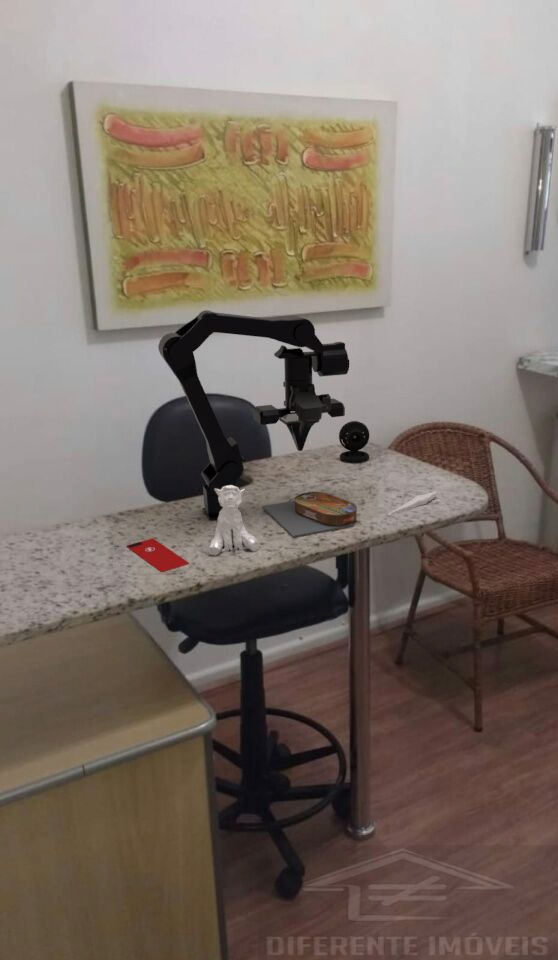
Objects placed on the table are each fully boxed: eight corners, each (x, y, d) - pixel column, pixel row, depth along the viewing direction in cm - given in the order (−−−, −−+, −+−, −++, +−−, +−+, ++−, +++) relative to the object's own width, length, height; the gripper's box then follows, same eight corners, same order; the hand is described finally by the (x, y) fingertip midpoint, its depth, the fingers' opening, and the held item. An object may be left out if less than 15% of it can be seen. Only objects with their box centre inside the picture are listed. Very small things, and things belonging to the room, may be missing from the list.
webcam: (341, 464, 188) (341, 425, 185) (337, 455, 195) (336, 418, 192) (372, 462, 188) (372, 424, 185) (366, 453, 195) (366, 416, 192)
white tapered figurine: (431, 496, 164) (431, 488, 164) (441, 499, 162) (441, 491, 162) (383, 516, 156) (383, 508, 155) (393, 520, 154) (393, 512, 153)
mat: (293, 537, 145) (293, 535, 145) (262, 507, 161) (262, 506, 161) (353, 526, 150) (353, 524, 149) (317, 498, 166) (317, 496, 165)
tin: (365, 507, 151) (335, 515, 146) (364, 522, 152) (334, 530, 147) (316, 488, 162) (286, 495, 157) (315, 502, 163) (285, 509, 158)
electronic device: (190, 565, 136) (153, 540, 148) (190, 562, 136) (152, 537, 148) (161, 574, 133) (126, 548, 145) (161, 572, 133) (125, 545, 145)
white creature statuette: (209, 557, 138) (204, 496, 134) (204, 539, 146) (199, 481, 142) (259, 551, 140) (256, 491, 136) (252, 534, 148) (248, 476, 144)
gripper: (267, 389, 145) (269, 466, 150) (355, 381, 150) (355, 455, 155) (251, 379, 155) (253, 451, 160) (334, 372, 160) (334, 442, 165)
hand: (299, 450), depth 160 cm, fingers closed
